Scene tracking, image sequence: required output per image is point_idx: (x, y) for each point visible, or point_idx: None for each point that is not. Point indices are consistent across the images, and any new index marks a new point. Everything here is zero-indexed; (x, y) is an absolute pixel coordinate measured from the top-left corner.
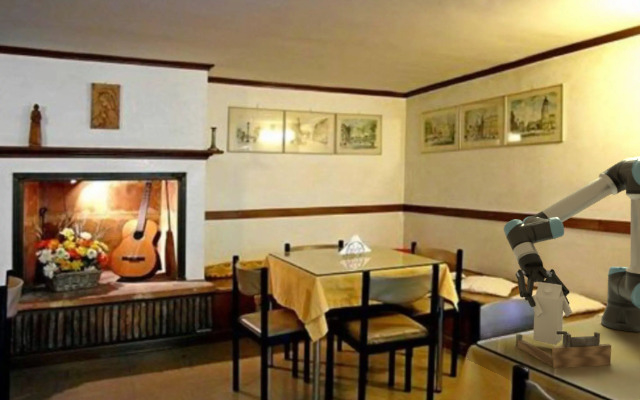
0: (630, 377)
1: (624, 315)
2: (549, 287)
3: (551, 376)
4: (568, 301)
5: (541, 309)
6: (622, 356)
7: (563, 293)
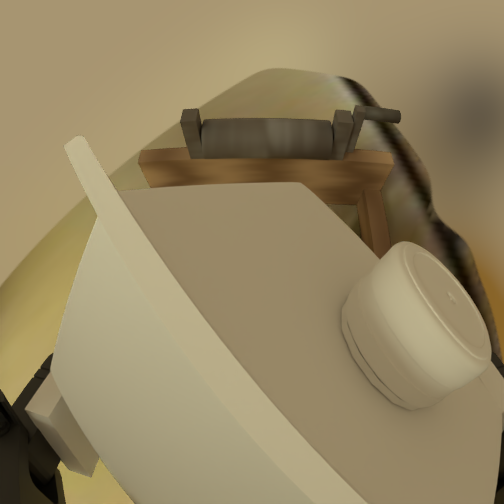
0: None
1: None
2: (337, 439)
3: (403, 152)
4: (44, 364)
5: None
6: (59, 254)
7: (9, 426)
